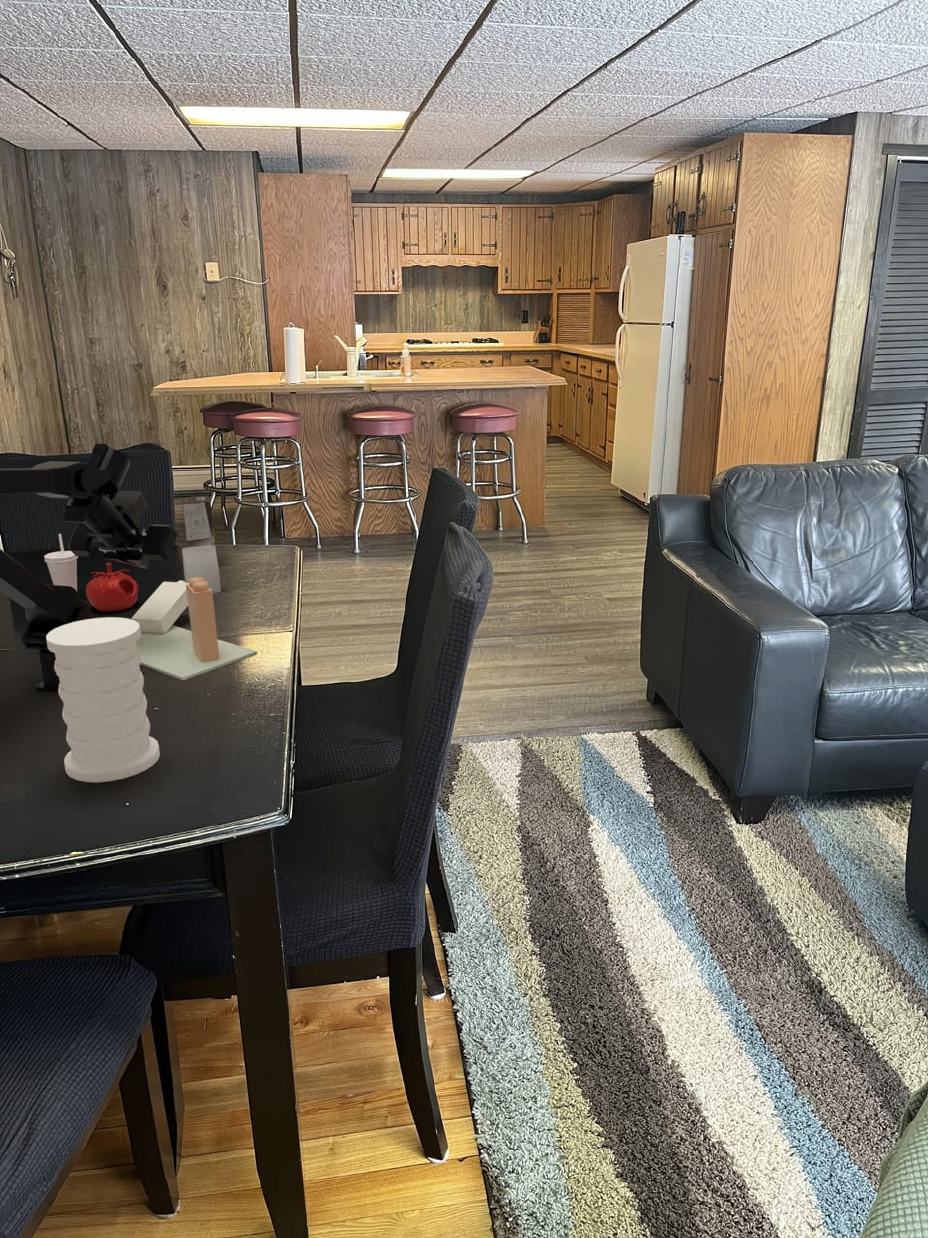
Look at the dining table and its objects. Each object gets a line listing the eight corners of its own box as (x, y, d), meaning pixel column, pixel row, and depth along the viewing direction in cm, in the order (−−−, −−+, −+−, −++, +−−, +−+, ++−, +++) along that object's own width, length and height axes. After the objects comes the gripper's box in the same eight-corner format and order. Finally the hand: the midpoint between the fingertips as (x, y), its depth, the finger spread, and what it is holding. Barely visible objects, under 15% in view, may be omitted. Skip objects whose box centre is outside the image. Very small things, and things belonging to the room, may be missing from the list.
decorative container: (170, 740, 121) (154, 615, 116) (144, 781, 110) (125, 645, 105) (85, 742, 121) (64, 617, 115) (50, 784, 110) (26, 647, 104)
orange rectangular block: (201, 662, 148) (193, 586, 144) (193, 651, 153) (185, 577, 149) (219, 658, 150) (211, 583, 146) (211, 648, 155) (203, 575, 151)
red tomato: (86, 618, 175) (78, 572, 172) (92, 603, 184) (84, 560, 181) (139, 612, 178) (131, 567, 174) (142, 597, 187) (135, 555, 184)
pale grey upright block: (221, 592, 190) (216, 547, 187) (188, 596, 188) (183, 550, 185) (218, 588, 193) (213, 543, 190) (186, 592, 191) (181, 546, 188)
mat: (183, 680, 142) (182, 677, 142) (86, 644, 159) (85, 642, 159) (257, 654, 153) (256, 651, 153) (158, 623, 170) (158, 620, 170)
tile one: (160, 620, 161) (194, 579, 171) (131, 618, 163) (166, 578, 173) (165, 633, 163) (198, 592, 173) (136, 631, 164) (171, 590, 174)
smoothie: (72, 604, 183) (61, 537, 179) (44, 602, 185) (33, 536, 180) (90, 595, 189) (80, 531, 185) (63, 594, 191) (53, 530, 186)
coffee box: (218, 568, 209) (211, 501, 204) (189, 571, 207) (182, 503, 202) (216, 559, 217) (209, 494, 212) (189, 562, 216) (181, 496, 211)
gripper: (166, 478, 149) (206, 531, 162) (70, 475, 154) (117, 527, 167) (143, 533, 144) (186, 583, 157) (45, 528, 148) (95, 577, 162)
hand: (146, 566), depth 161 cm, fingers closed
